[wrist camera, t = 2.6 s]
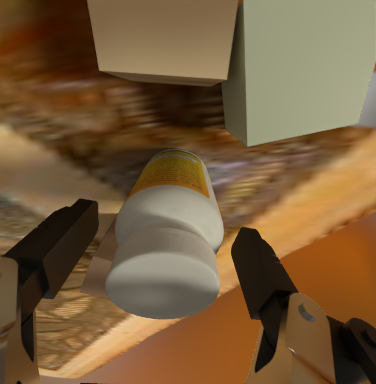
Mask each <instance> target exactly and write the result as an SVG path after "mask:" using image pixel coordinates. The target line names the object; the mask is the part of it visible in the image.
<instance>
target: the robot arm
mask: <svg viewBox="0 0 376 384" xmlns="http://www.w3.org/2000/svg"><path fill="white" fill-rule="evenodd" d="M98 225H99V220H98V203H97V201H92V200H87V199H78V200H77V201H76V202H75V203H74V204H73V205H72V206H71V207H67V206H66V207H64V208H61V209H59V210H57V211H55V212H53V213H52V214H51V215H50V216H49V217H48V218H46V219H45V221H43V222H42V223H41V224H39V225H38V227H37V228H35V229H34V230H32V231H31V232H30V233H29V234H28V235H27V236H25V237H24V238H23V239H22V240H21V241H20V242H18V243H17V244H16V245H15V246H14V247H13V248H11V249H10V250H9V251H8V252H7V253H6V254H4V255H3V256H2V257H0V384H41V381H40V375H39V370H38V362H37V337H36V311H35V307H36V306H37V305H38V303H39V302H40V300H41V299H42V298H46V299H54V298H55V296H56V295H57V293H58V291H59V290H60V288H61V287H62V285H63V284H64V282H65V281H66V279H67V278H68V276H69V275H70V273H71V272H72V270H73V269H74V267H75V266H76V264H77V263H78V261H79V259H80V258H81V256H82V255H83V253H84V252H85V250H86V249H87V247H88V246H89V244H90V243H91V241H92V240H93V238H94V237H95V235H96V233H97V230H98ZM231 256H232V259H233V262H234V266H235V269H236V272H237V275H238V279H239V282H240V285H241V288H242V291H243V295H244V298H245V301H246V304H247V308H248V311H249V314H250V317H251V319H256V320H261V322H262V325H263V326H262V327H261V328H260V331H259V335H258V339H257V343H256V347H255V351H254V355H253V359H252V363H251V367H250V371H249V374H248V377H247V379H246V381H245V382H244V384H360V383H362V382H364V381H366V380H369V381H370V382H371V384H376V329H375V328H374V327H373V326H371V325H370V324H368V323H367V322H365V321H363V320H361V319H358V318H352V319H350V320H349V321H347V322H346V323H345V324H344V323H342V322H340V321H337V320H335V319H333V318H331V317H329V316H326V315H325V314H324V312H323V311H322V309H321V308H320V307H319V306H318V305H317V304H316V303H315V302H314V301H313V300H312V299H310V298H309V297H307V296H305V295H303V294H300V293H299V292H298V291H297V289H296V287H295V286H294V284H293V282H292V281H291V279H290V277H289V275H288V274H287V272H286V271H285V269H284V267H283V266H282V264H280V261H279V259H278V257H276V254H275V252H274V251H273V249H272V247H271V246H270V245H269V244H268V243H267V242H266V241H265V240H264V239H262V238H261V236H260V234H259V232H258V231H257V230H256V229H252V228H246V227H242V228H241V229H240V231H239V233H238V235H237V237H236V239H235V241H234V243H233V245H232V248H231ZM80 384H96V383H80Z"/></svg>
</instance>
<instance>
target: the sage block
mask: <svg viewBox="0 0 376 384" xmlns="http://www.w3.org/2000/svg"><path fill="white" fill-rule="evenodd" d="M375 63H376V0H243V1H242V2H241V4H240V6H239V7H238V9H237V13H236V20H235V27H234V34H233V41H232V48H231V55H230V61H229V68H228V75H227V80H225V81H222V82H221V86H222V97H223V108H224V119H225V129H226V130H227V131H228V132H229V133H231V134H232V135H233V136H235V137H236V138H237V139H239V140H240V141H241V142H242V143H244V144H245V145H246V146H252V145H257V144H261V143H266V142H271V141H276V140H281V139H286V138H290V137H295V136H300V135H305V134H310V133H314V132H319V131H324V130H329V129H334V128H338V127H343V126H348V125H353V124H358V121H359V118H360V114H361V111H362V108H363V104H364V101H365V97H366V94H367V90H368V87H369V83H370V79H371V76H372V73H373V70H374V66H375Z"/></svg>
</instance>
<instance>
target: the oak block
mask: <svg viewBox="0 0 376 384" xmlns="http://www.w3.org/2000/svg"><path fill="white" fill-rule="evenodd" d="M87 2H88V8H89V14H90V19H91V25H92V31H93V37H94V43H95V49H96V54H97V60H98V66H99V71H102V72H105V73H108V74H111V75H115V76H118V77H121V78H124V79H127V80H130V81H133V82H148V83H163V84H177V85H192V86H207V87H211V86H213V85H215V84H218V83H220V82H222V81H225V80H227V75H228V68H229V61H230V55H231V48H232V41H233V34H234V27H235V20H236V13H237V6H238V0H87Z"/></svg>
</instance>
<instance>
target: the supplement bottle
mask: <svg viewBox="0 0 376 384" xmlns="http://www.w3.org/2000/svg"><path fill="white" fill-rule="evenodd" d="M223 232H224V230H223V222H222V218H221V214H220V211H219V208H218V204H217V201H216V198H215V195H214V192H213V188H212V185H211V181H210V178H209V174H208V171H207V169H206V167H205V165H204V163H203V162H202V161H201V160H200V159H199V158H198V157H197V156H196V155H195V154H193V153H191V152H188V151H185V150H182V149H168V150H164V151H161V152H159V153H158V154H156V155H155V156H153V157H152V158H151V159H150V161H149V162H148V164H147V165H146V167H145V168H144V170H143V172H142V173H141V175H140V177H139V179H138V180H137V182H136V184H135V185H134V187H133V189H132V191H131V192H130V194H129V196H128V197H127V199H126V201H125V202H124V204H123V206H122V207H121V209H120V211H119V213H118V216H117V219H116V223H115V236H116V241H117V244H118V246H119V247H118V248H117V251H116V253H115V256H114V259H113V262H112V264H111V267H110V269H109V272H108V274H107V277H106V281H105V288H106V292H107V294H108V296H109V298H110V299H111V300H112V301H113V302H114V303H115V304H116V305H117V306H118V307H120V308H121V309H123V310H125V311H127V312H129V313H132V314H134V315H137V316H141V317H146V318H152V319H176V318H182V317H186V316H190V315H194V314H196V313H198V312H200V311H202V310H204V309H205V308H207V307H208V306H209V305H211V304H212V303H213V302H214V300H215V299H216V298H217V296H218V293H219V287H220V283H219V276H218V270H217V264H216V256H215V255H216V253H217V252H218V250H219V248H220V246H221V243H222V240H223Z"/></svg>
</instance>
